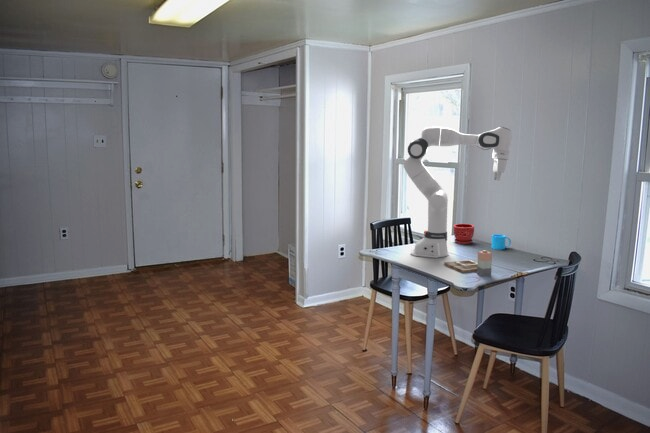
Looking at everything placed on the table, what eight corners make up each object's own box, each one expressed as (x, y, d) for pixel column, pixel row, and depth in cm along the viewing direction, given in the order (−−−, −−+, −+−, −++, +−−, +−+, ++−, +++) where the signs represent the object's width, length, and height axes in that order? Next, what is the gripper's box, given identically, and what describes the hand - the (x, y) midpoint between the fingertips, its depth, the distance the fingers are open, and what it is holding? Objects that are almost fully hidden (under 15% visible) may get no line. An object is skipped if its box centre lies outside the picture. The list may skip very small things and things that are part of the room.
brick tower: (477, 273, 273) (478, 250, 270) (485, 272, 274) (486, 249, 272) (482, 276, 268) (483, 252, 266) (490, 275, 270) (492, 251, 267)
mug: (493, 249, 326) (494, 237, 325) (489, 246, 334) (490, 234, 333) (512, 249, 326) (513, 236, 325) (508, 246, 334) (509, 234, 333)
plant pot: (451, 240, 353) (452, 223, 351) (471, 240, 351) (472, 223, 349) (454, 244, 340) (455, 227, 338) (475, 245, 339) (475, 227, 337)
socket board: (444, 264, 291) (444, 260, 290) (471, 262, 296) (471, 257, 296) (462, 273, 274) (462, 268, 273) (491, 269, 280) (491, 265, 279)
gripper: (492, 155, 306) (488, 179, 307) (497, 155, 286) (493, 179, 287) (503, 157, 305) (499, 180, 306) (509, 156, 285) (505, 181, 286)
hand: (496, 180), depth 297 cm, fingers open, 8 cm apart
